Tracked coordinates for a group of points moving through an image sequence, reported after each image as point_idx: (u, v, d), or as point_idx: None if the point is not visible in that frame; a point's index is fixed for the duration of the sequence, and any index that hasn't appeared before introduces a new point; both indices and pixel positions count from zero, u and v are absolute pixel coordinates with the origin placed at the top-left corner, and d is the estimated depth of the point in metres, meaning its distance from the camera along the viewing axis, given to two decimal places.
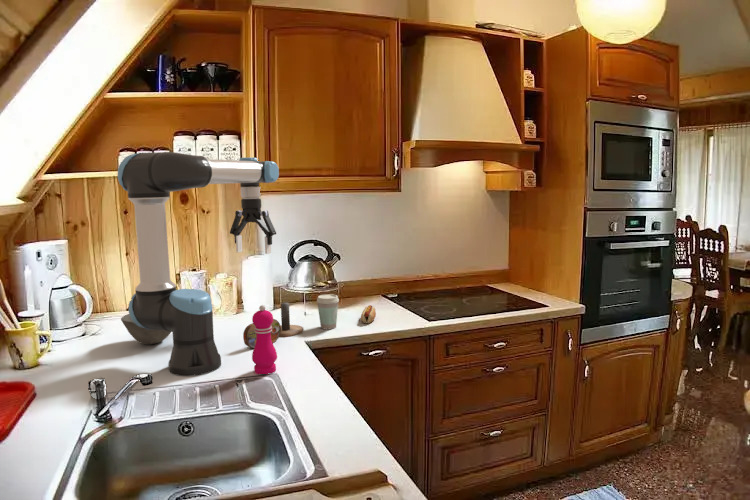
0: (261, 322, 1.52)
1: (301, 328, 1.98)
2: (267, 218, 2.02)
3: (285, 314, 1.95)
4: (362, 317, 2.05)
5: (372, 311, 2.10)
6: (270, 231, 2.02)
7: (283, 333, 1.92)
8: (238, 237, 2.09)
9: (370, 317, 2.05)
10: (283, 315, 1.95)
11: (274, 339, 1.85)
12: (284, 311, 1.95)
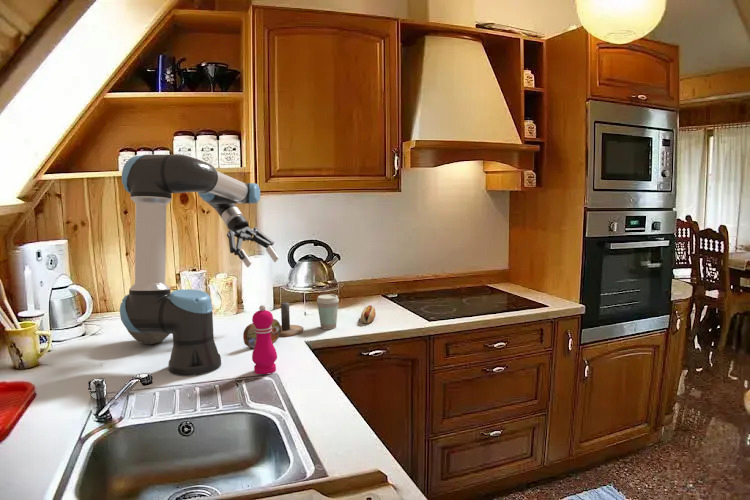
0: (261, 322, 1.52)
1: (301, 328, 1.98)
2: None
3: (285, 314, 1.95)
4: (362, 317, 2.05)
5: (372, 311, 2.10)
6: (270, 240, 2.10)
7: (283, 333, 1.92)
8: None
9: (370, 317, 2.05)
10: (283, 315, 1.95)
11: (274, 339, 1.85)
12: (284, 311, 1.95)
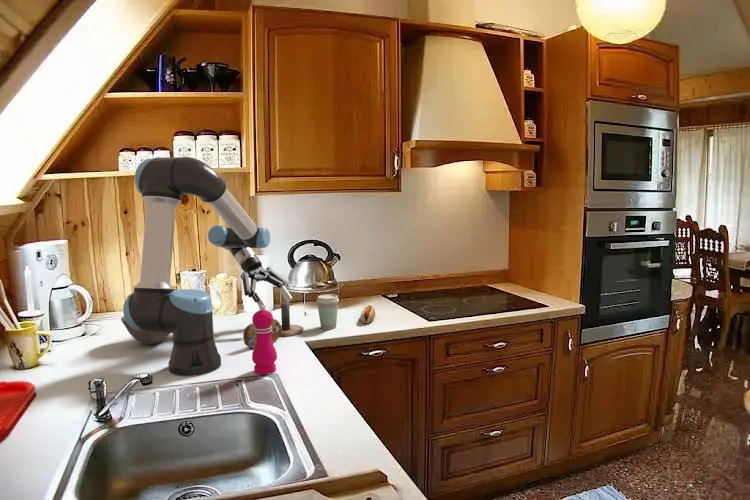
0: (261, 322, 1.52)
1: (301, 328, 1.98)
2: None
3: (285, 314, 1.95)
4: (362, 317, 2.06)
5: (372, 311, 2.10)
6: (284, 280, 2.09)
7: (283, 333, 1.92)
8: None
9: (370, 317, 2.05)
10: (283, 315, 1.95)
11: (274, 339, 1.85)
12: (284, 311, 1.95)
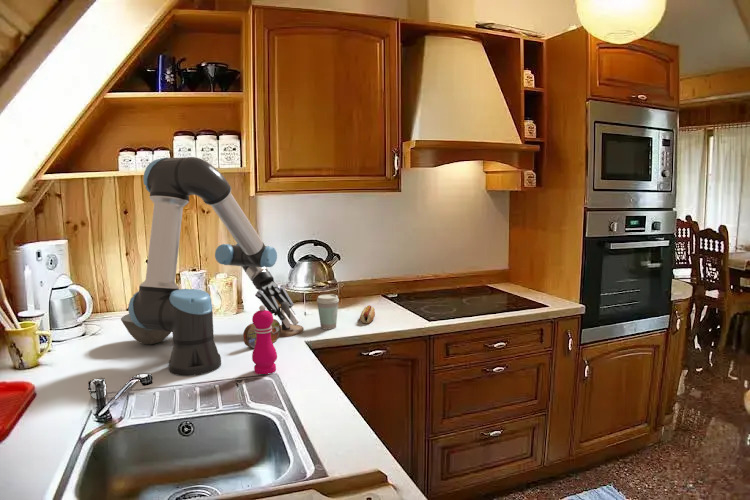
0: (261, 322, 1.52)
1: (301, 327, 1.98)
2: None
3: None
4: (361, 317, 2.06)
5: (371, 311, 2.10)
6: (291, 302, 2.00)
7: (284, 333, 1.92)
8: None
9: (369, 317, 2.05)
10: None
11: (274, 339, 1.85)
12: (284, 311, 1.95)
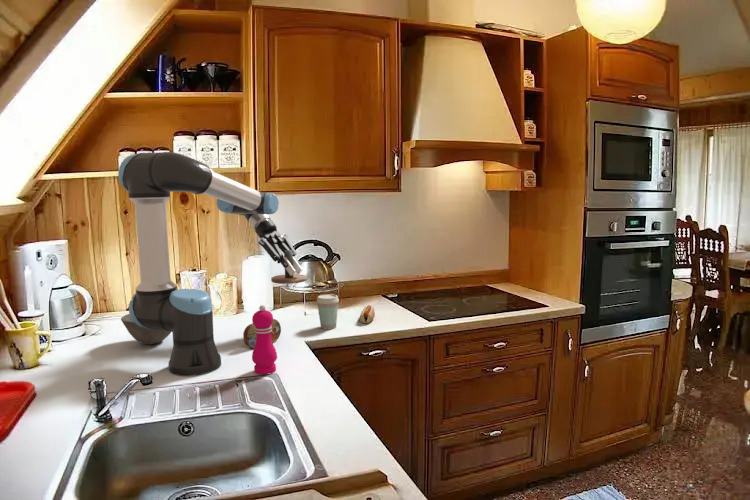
0: (261, 322, 1.52)
1: (304, 276, 1.97)
2: None
3: None
4: (361, 317, 2.06)
5: (371, 311, 2.10)
6: (294, 251, 1.99)
7: (287, 280, 1.90)
8: None
9: (369, 317, 2.05)
10: None
11: (274, 339, 1.85)
12: (287, 258, 1.93)
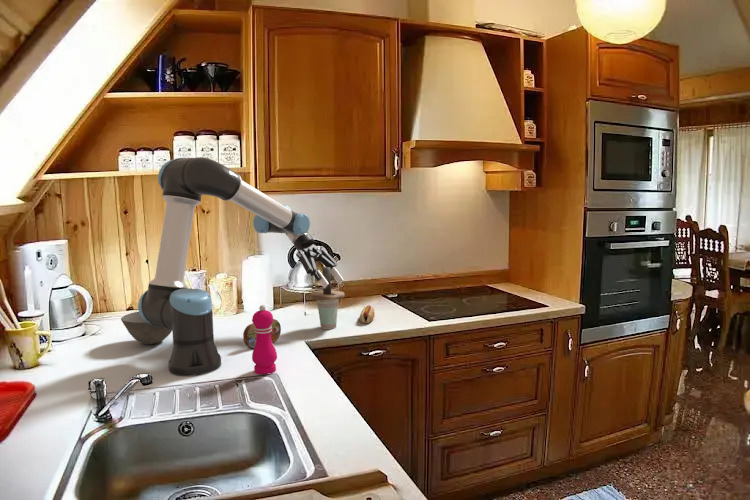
0: (261, 322, 1.52)
1: (342, 292, 2.02)
2: None
3: (327, 278, 1.98)
4: (361, 317, 2.06)
5: (371, 311, 2.10)
6: (334, 261, 2.06)
7: (326, 297, 1.95)
8: None
9: (369, 317, 2.05)
10: None
11: (274, 339, 1.85)
12: (326, 275, 1.98)
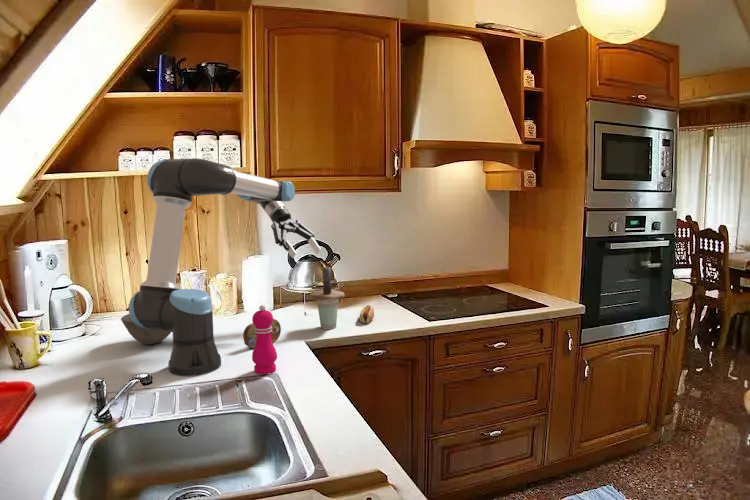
0: (261, 322, 1.52)
1: (342, 292, 2.02)
2: None
3: (327, 278, 1.98)
4: (361, 317, 2.06)
5: (371, 311, 2.10)
6: (312, 232, 2.14)
7: (326, 297, 1.95)
8: None
9: (369, 317, 2.05)
10: (325, 279, 1.99)
11: (274, 339, 1.85)
12: (326, 275, 1.98)
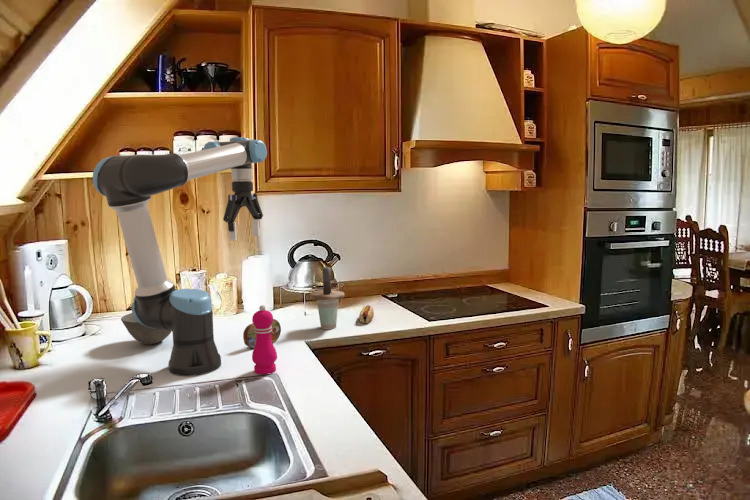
0: (261, 322, 1.52)
1: (342, 292, 2.02)
2: None
3: (327, 278, 1.98)
4: (360, 317, 2.06)
5: (370, 311, 2.10)
6: (261, 213, 2.03)
7: (326, 297, 1.95)
8: None
9: (368, 317, 2.05)
10: (325, 279, 1.99)
11: (274, 339, 1.85)
12: (326, 275, 1.98)
